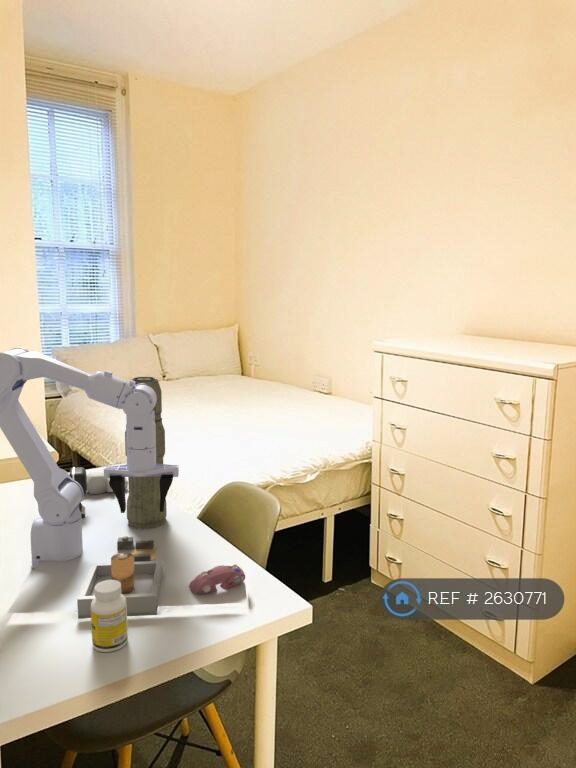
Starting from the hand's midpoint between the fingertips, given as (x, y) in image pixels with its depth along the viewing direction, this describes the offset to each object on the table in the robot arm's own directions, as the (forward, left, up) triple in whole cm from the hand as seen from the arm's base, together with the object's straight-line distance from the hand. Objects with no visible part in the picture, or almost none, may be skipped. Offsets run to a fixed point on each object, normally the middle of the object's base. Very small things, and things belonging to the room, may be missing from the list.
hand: (142, 510), depth 121 cm
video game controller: (+15, -15, -11) cm, 24 cm away
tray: (-2, -15, -10) cm, 18 cm away
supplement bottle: (-2, -29, -11) cm, 31 cm away
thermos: (-1, +16, -11) cm, 19 cm away
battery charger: (-18, +25, -11) cm, 33 cm away
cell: (-2, -15, -10) cm, 18 cm away
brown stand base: (0, -1, -10) cm, 10 cm away
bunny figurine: (-16, +41, -11) cm, 45 cm away
